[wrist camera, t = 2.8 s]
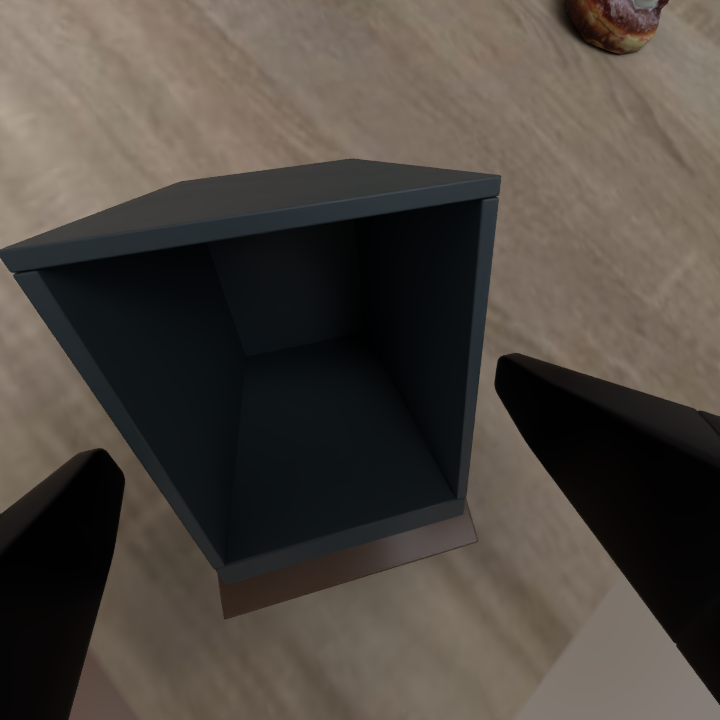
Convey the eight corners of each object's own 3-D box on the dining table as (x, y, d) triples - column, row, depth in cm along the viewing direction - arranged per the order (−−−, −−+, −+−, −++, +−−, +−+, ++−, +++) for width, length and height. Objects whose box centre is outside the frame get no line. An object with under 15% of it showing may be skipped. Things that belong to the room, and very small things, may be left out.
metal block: (445, 519, 17) (479, 542, 14) (248, 576, 16) (223, 620, 12) (414, 404, 19) (437, 396, 15) (228, 449, 17) (199, 453, 13)
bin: (406, 481, 18) (674, 633, 4) (271, 518, 17) (10, 883, 3) (345, 242, 20) (378, -154, 7) (227, 262, 19) (-15, -151, 6)
